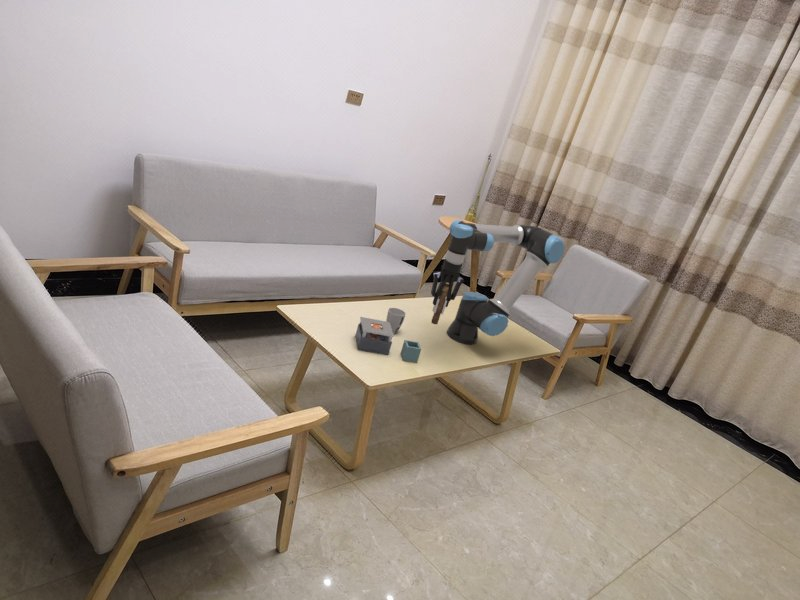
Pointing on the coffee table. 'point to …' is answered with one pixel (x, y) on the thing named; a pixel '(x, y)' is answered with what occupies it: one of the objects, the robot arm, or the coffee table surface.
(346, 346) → the coffee table surface
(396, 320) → the cup
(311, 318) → the coffee table surface
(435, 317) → the brown square bar
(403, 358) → the holder
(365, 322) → the grey square box
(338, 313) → the coffee table surface
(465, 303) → the robot arm
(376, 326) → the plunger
